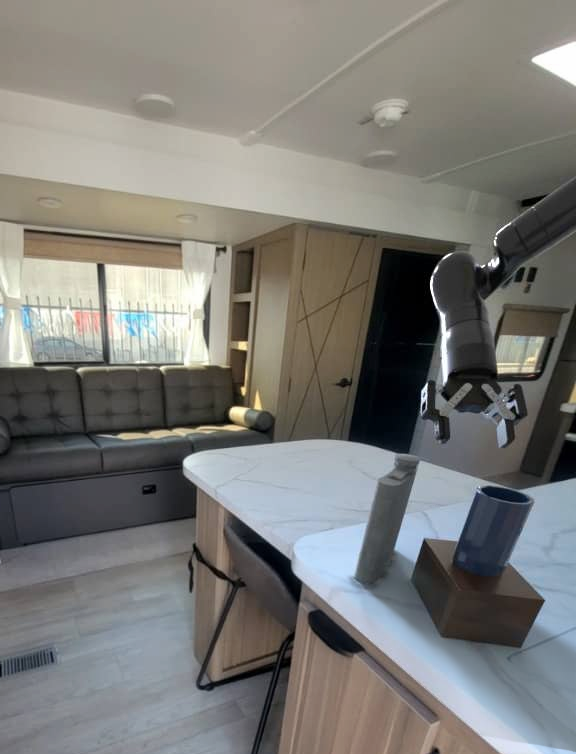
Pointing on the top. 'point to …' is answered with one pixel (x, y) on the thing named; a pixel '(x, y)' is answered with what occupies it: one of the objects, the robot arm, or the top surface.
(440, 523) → the top surface
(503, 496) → the blue cup
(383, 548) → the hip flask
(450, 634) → the walnut wood box
